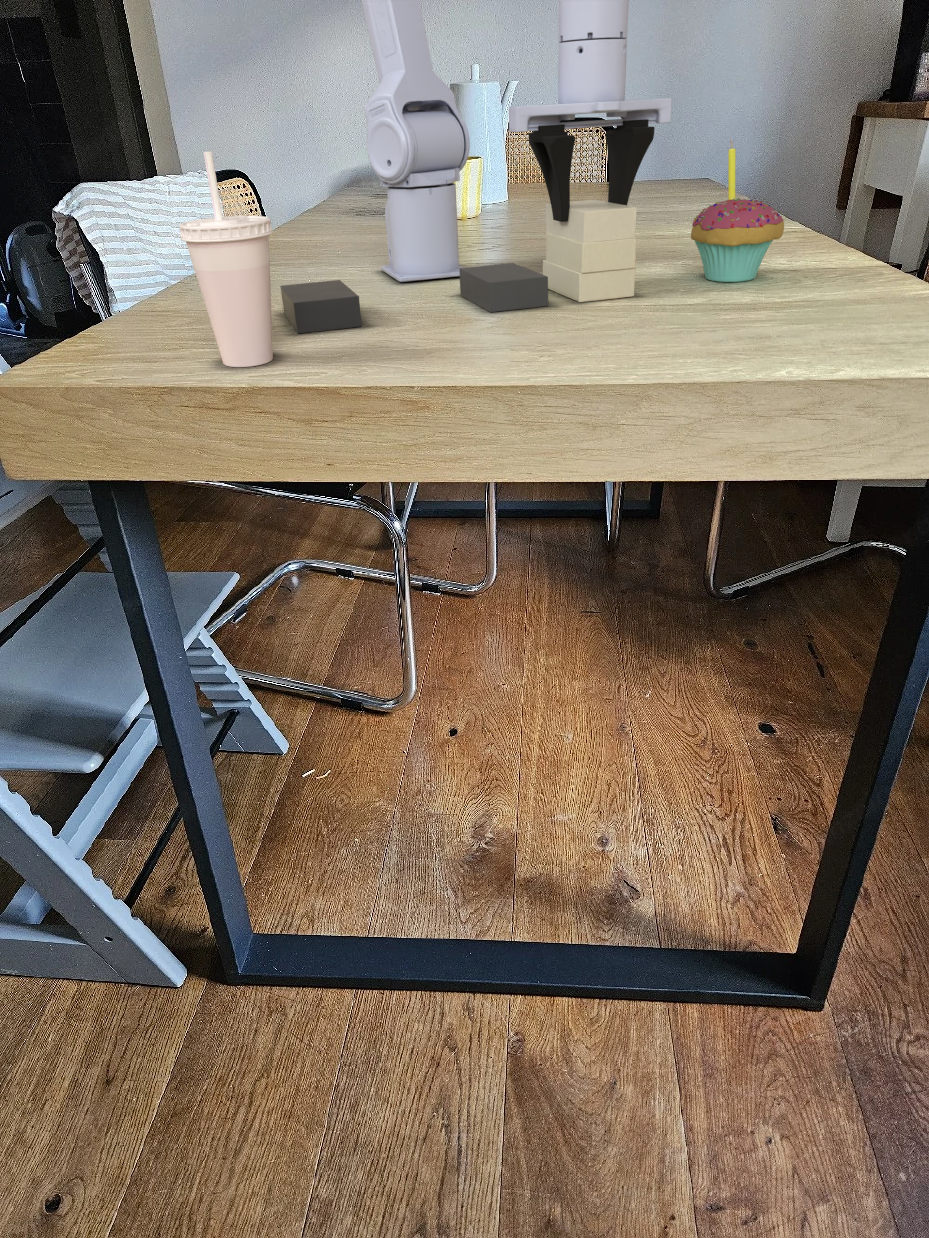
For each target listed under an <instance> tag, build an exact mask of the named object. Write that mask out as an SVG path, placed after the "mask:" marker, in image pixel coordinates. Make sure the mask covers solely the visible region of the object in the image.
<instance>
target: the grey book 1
mask: <svg viewBox="0 0 929 1238" xmlns="http://www.w3.org/2000/svg"><path fill="white" fill-rule="evenodd" d="M279 289H280V294H281V302H282V308H283V314H284V316H285V317H286V319H287V320H288V321H289V324H291V326H292V327H293V329H294V331H295V332H296V333H297V334H298V335H299V334H307V333H315V332H326V331H334V330H343V329H353V328H361V327H362V326H363V324H362V323H363V322H362V315H361V303H360V296H359V295H358V294H357V293H356V292H355V291H353V290H352V289H351V288H350V287H349V286H347V285H346V284H345V282H343V281H342V280H341V279H335V280H325V281H315V282H314V281H313V282H305V283H294V284H293V283H292V284H284V285H280V288H279Z"/></svg>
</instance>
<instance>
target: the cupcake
mask: <svg viewBox="0 0 929 1238" xmlns="http://www.w3.org/2000/svg"><path fill="white" fill-rule="evenodd" d="M729 142H730V143H729V144H730V145H729V146H730V148H729V149H728V152H727V157H728V158H727V163H728V164H727V167H728V168H727V169H728V170H727V171H728V172H727V178H728V180H727V182H728V183H727V185H728V186H727V187H728V188H727V199H725V200H723V201H716V202H715V203H713V204H712V205H711V204H710V205H709V206H707V207H706V208H705V207H704V208H703V209H702V211H700V212H699V213H698V215H696V216H695V217H694V220H692V224H691V226H692V228H691V232H690V239H691V240H692V241H694V243H695V245H696V247H697V250H698V252H699V255H700V259H701V263H702V267H703V272H704V277H705V279H706V280H709V281H712V282H721V283H742V282H747V281H751V280H754V279H755V278H756V277H757V274H758V271H759V269H760V266H761V264H762V261H763V259H764V257H765V255H766V253H767V251H768V250H769V248H770V246H771V244H772V243H773V241H774V240H776V241H777V240H780V239H781V238H782V236H783V235H784V230H785V222H784V218H783V216H782V215H780V213H779V211H777V210H776V209H774V208H773V207H772V206H771V205H770V204H767V203H766V202H763V201H757V200H755V199H753V198H751V199H746V198H742V199H741V198H736V171H737V170H736V168H737V167H736V165H737V163H736V159H737V157H736V155H737V154H736V153H737V151H736V149H737V148H734V145H733V139H732V138H731V139H729Z"/></svg>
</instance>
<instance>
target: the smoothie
mask: <svg viewBox="0 0 929 1238" xmlns="http://www.w3.org/2000/svg"><path fill="white" fill-rule="evenodd" d="M213 156H214V155H213V151H211V150H209V151H203V158H204V164H205V170H206V175H207V181H208V188H209V194H210V199H211V205H212V210H213V217H206V218H199V219H194V220H188V221H184V222H182V223H180V224H179V225H178V229H179V235H180V238H179V239H180V240H181V241H183V242H185V244H186V246H187V249H188V254H189V257H190V259H191V264H192V267H193V270H194V273H195V276H196V279H197V282H198V286H199V289H200V292H201V296H202V299H203V302H204V306H205V309H206V311H207V315H208V318H209V321H210V325H211V328H212V332H213V334H214V338H215V341H216V344H217V348H218V351H219V354H220V357H221V361H222V364H223V365H224V366H226V367H232V368H249V367H255V366H260V365H265V364H267V363H270V362H271V361H273V360H274V353H273V352H274V349H273V324H272V323H273V321H272V320H273V319H272V292H271V289H272V287H271V257H270V255H271V254H270V235H273V233H274V230H273V228H272V222H271V220H272V219H271V218H270V217H268V216H264V215H245V214H244V215H243V214H242V215H241V214H239V215H232V216H231V215H229V216H223V210H222V205H221V199H220V192H219V186H218V182H217V181H218V180H217V174H216V169H215V163H214V157H213Z"/></svg>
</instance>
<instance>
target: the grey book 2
mask: <svg viewBox="0 0 929 1238" xmlns="http://www.w3.org/2000/svg"><path fill="white" fill-rule="evenodd" d="M459 272H460V276H459V289H460V290H459V291H460V296H461V297H462V298H464V299H466V300H467V301H470V302H471V303H473V304H475V305H476V306H478V307H480V308H481V309H484V310H485V311H487V312H488V313H497V312H506V311H514V310H524V309H532V308H542V307H548V306H549V289H548V277H547V276H545V275H543V273H540V272H537V271H534V270H532V269H529V268H527V267H524V266H522V265H520V264H517V263H515V262H508V263H497V264H489V265H478V266H469V267H465V268H459Z"/></svg>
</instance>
